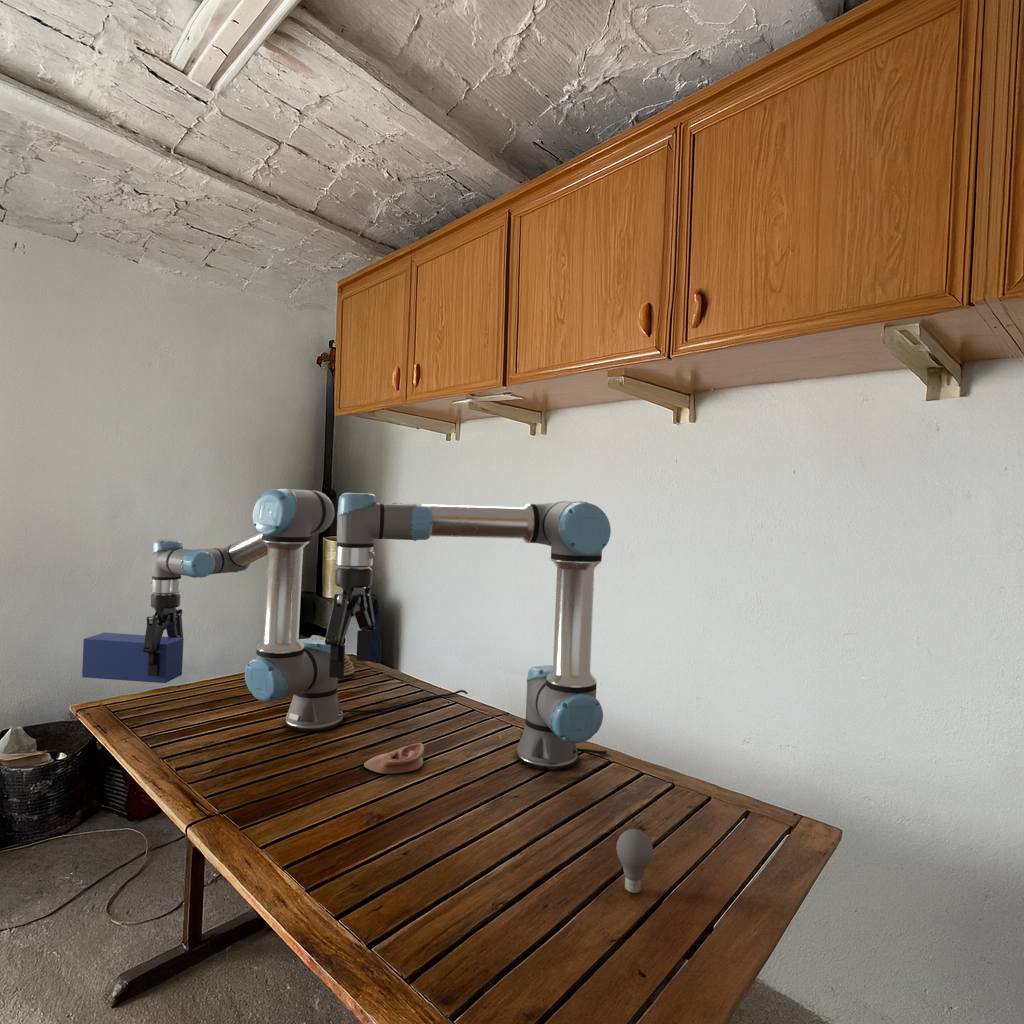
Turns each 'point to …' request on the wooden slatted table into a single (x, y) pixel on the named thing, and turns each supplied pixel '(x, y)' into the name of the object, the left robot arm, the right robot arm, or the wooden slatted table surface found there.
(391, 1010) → the wooden slatted table surface
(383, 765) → the anatomical model
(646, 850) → the light bulb
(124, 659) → the box
